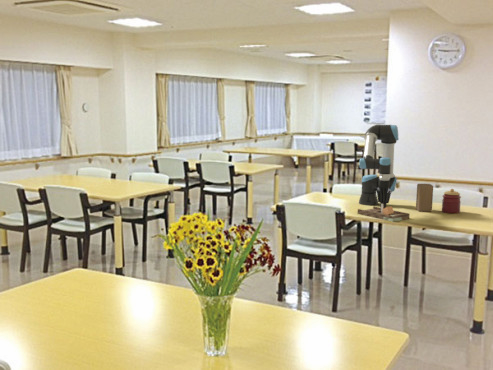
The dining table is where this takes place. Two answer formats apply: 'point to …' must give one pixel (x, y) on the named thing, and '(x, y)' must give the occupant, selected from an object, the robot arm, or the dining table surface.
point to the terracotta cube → (388, 210)
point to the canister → (451, 202)
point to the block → (424, 197)
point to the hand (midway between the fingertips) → (382, 212)
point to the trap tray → (377, 214)
